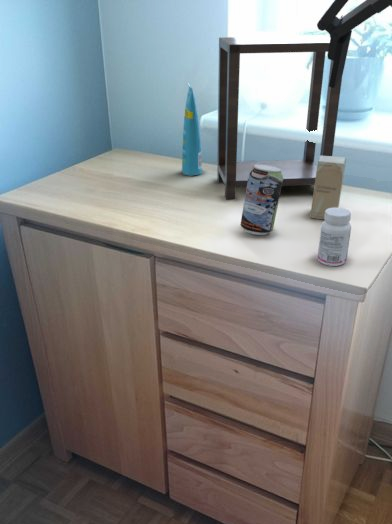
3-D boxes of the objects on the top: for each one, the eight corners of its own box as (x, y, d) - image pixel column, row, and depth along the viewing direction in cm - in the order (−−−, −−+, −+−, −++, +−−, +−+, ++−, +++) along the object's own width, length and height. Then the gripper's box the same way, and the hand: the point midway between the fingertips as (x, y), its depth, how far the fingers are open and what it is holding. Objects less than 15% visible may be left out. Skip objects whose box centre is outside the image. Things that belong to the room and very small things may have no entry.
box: (309, 218, 109) (315, 160, 103) (312, 210, 112) (318, 154, 106) (336, 221, 107) (345, 162, 101) (339, 213, 111) (347, 156, 105)
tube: (179, 169, 137) (177, 83, 126) (199, 168, 138) (198, 82, 127) (185, 178, 131) (183, 89, 120) (205, 176, 132) (205, 88, 121)
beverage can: (233, 231, 103) (235, 166, 97) (261, 222, 107) (265, 158, 101) (257, 242, 99) (261, 174, 93) (285, 231, 103) (291, 166, 96)
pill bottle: (329, 252, 95) (335, 204, 91) (352, 261, 92) (360, 211, 88) (311, 259, 93) (316, 210, 88) (334, 269, 90) (341, 219, 85)
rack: (327, 195, 120) (346, 42, 104) (226, 200, 118) (229, 44, 102) (309, 176, 131) (324, 35, 115) (217, 180, 130) (219, 37, 113)
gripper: (302, -93, 55) (284, 85, 75) (561, -22, 49) (467, 151, 68) (335, -134, 57) (309, 49, 77) (585, -71, 51) (488, 110, 71)
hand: (383, 97), depth 73 cm, fingers open, 13 cm apart
